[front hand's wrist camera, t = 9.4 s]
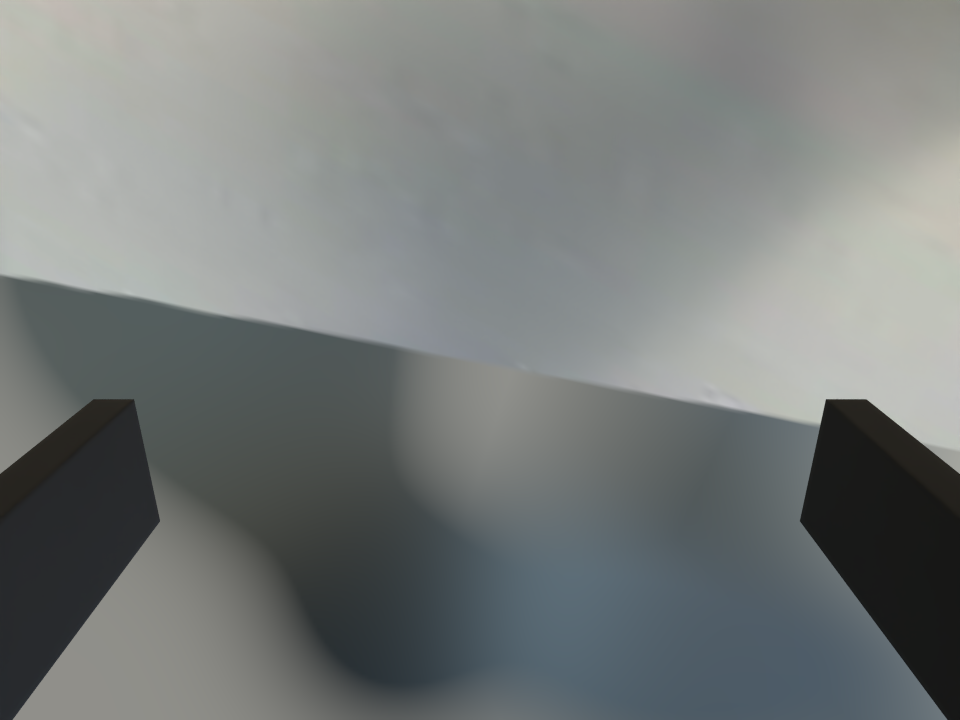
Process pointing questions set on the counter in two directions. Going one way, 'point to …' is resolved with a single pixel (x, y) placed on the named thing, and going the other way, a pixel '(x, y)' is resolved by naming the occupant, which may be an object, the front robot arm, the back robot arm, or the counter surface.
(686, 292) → the counter surface
